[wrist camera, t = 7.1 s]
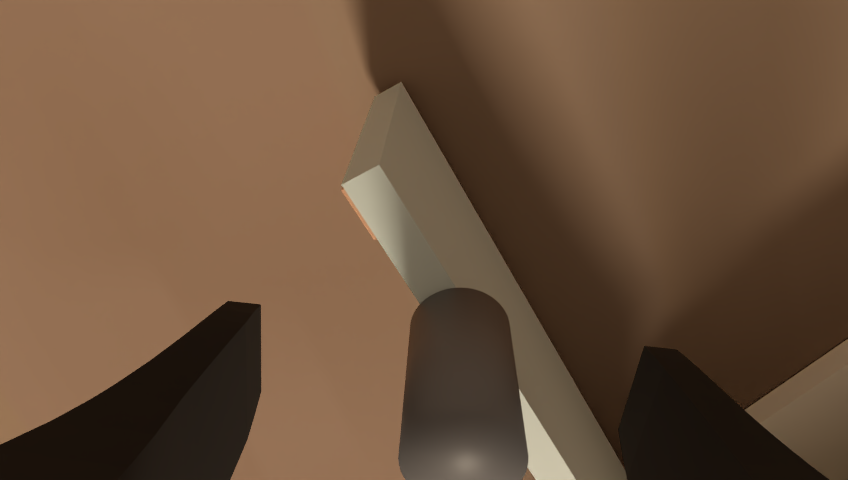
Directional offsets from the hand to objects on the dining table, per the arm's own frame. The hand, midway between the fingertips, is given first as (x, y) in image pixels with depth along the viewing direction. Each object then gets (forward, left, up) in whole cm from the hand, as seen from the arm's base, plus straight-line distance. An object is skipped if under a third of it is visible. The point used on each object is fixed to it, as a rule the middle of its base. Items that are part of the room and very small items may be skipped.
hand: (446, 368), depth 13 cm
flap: (-1, -4, -7) cm, 8 cm away
